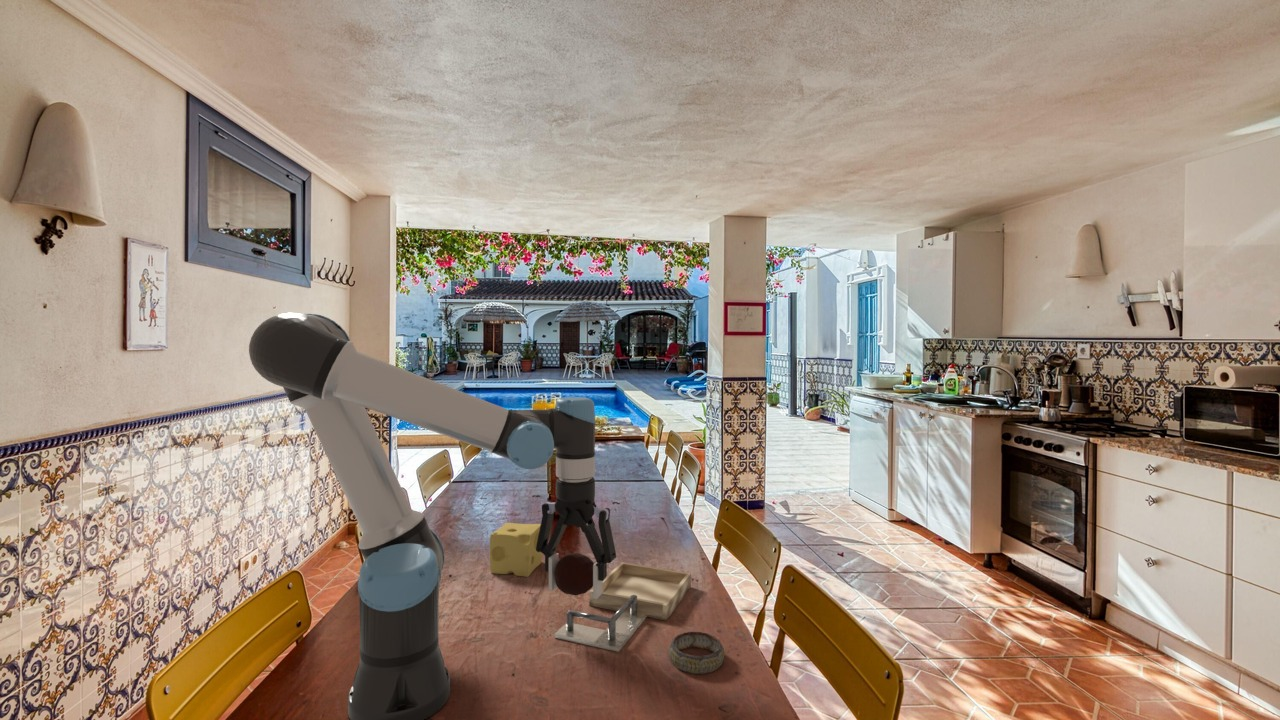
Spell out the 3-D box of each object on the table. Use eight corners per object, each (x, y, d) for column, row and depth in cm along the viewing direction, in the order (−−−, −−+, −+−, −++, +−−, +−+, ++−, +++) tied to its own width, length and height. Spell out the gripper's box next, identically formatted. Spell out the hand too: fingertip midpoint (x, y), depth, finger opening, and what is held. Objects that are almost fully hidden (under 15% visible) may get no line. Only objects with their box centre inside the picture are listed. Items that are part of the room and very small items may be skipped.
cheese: (528, 578, 143) (528, 537, 142) (487, 574, 145) (487, 533, 144) (544, 561, 153) (544, 523, 152) (505, 558, 155) (505, 520, 155)
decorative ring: (736, 664, 107) (698, 640, 115) (736, 646, 106) (698, 624, 114) (693, 683, 100) (657, 657, 109) (694, 664, 100) (657, 640, 108)
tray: (666, 620, 122) (666, 605, 122) (589, 605, 128) (589, 591, 128) (690, 586, 138) (691, 573, 138) (621, 575, 145) (621, 562, 145)
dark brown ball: (573, 580, 122) (573, 543, 121) (606, 593, 116) (606, 554, 115) (543, 593, 115) (543, 554, 115) (577, 607, 110) (577, 566, 109)
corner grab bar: (618, 651, 110) (618, 627, 110) (554, 637, 115) (554, 613, 114) (649, 614, 125) (649, 592, 124) (591, 602, 130) (591, 581, 129)
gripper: (634, 478, 114) (634, 593, 115) (536, 468, 122) (537, 576, 123) (619, 487, 107) (619, 609, 108) (516, 476, 115) (517, 590, 116)
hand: (575, 591), depth 116 cm, fingers closed on dark brown ball, 9 cm apart
